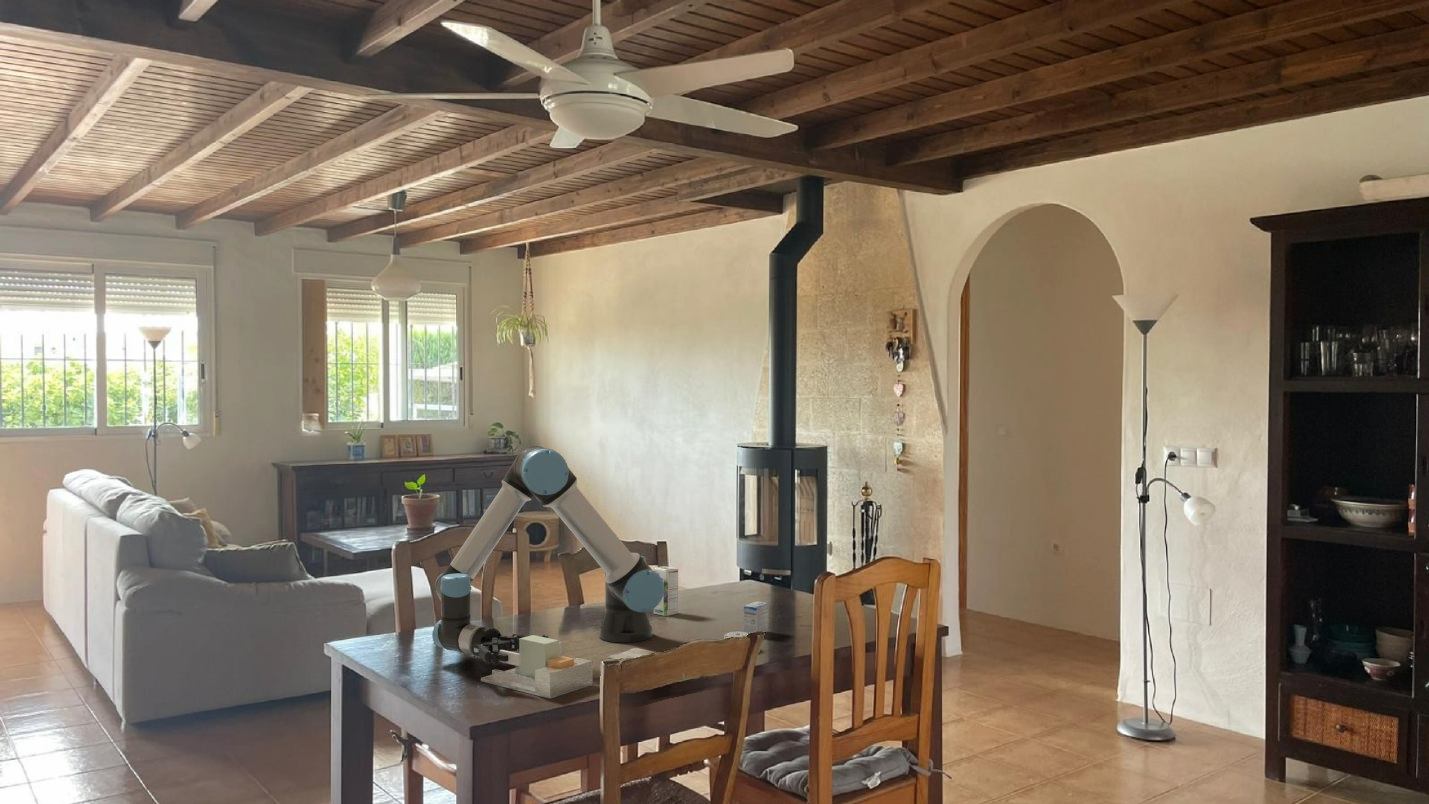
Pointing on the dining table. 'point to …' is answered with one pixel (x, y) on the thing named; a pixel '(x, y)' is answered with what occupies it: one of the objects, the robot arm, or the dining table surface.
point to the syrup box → (668, 591)
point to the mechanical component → (735, 634)
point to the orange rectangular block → (560, 662)
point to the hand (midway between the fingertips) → (540, 654)
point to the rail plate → (519, 682)
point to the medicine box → (756, 617)
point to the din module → (536, 653)
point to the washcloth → (630, 654)
